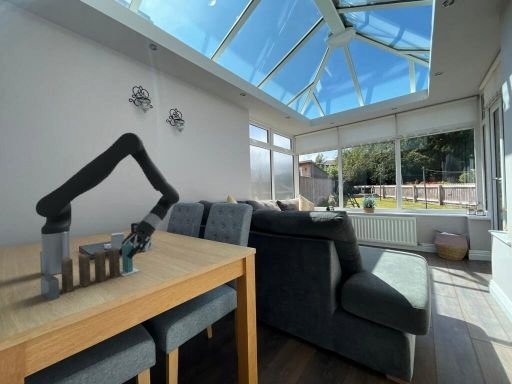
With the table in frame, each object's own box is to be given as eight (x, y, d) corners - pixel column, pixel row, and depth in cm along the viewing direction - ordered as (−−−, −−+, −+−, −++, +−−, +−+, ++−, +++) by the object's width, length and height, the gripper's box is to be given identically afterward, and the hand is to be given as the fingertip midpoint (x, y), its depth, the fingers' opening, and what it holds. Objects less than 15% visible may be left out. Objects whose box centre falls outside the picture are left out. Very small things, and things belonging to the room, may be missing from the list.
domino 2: (84, 287, 79) (83, 256, 79) (79, 284, 82) (78, 254, 82) (90, 285, 81) (89, 255, 80) (85, 282, 83) (84, 253, 83)
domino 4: (115, 277, 87) (114, 250, 87) (109, 275, 90) (108, 248, 90) (120, 276, 89) (119, 249, 89) (114, 273, 92) (113, 247, 92)
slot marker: (123, 276, 88) (123, 275, 88) (114, 272, 93) (114, 272, 93) (140, 270, 94) (140, 270, 94) (131, 267, 99) (131, 267, 99)
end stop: (49, 300, 70) (48, 281, 70) (41, 294, 75) (40, 276, 75) (59, 297, 72) (58, 279, 72) (51, 291, 77) (50, 274, 77)
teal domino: (128, 272, 92) (127, 246, 92) (122, 270, 94) (121, 244, 94) (132, 271, 93) (131, 245, 93) (127, 269, 96) (126, 244, 96)
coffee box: (131, 251, 127) (130, 223, 127) (138, 248, 134) (137, 221, 133) (145, 251, 126) (144, 223, 126) (152, 248, 132) (151, 221, 132)
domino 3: (100, 282, 83) (99, 253, 83) (95, 279, 86) (94, 251, 86) (106, 280, 85) (105, 252, 85) (100, 278, 88) (99, 250, 87)
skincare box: (111, 258, 114) (110, 235, 114) (111, 256, 118) (110, 233, 118) (125, 256, 118) (124, 233, 118) (124, 254, 122) (123, 232, 122)
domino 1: (67, 293, 75) (65, 260, 75) (62, 289, 78) (60, 258, 78) (73, 291, 76) (72, 259, 76) (68, 287, 79) (67, 257, 79)
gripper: (134, 219, 104) (108, 249, 94) (151, 220, 96) (125, 253, 86) (146, 228, 108) (122, 258, 99) (163, 230, 100) (139, 263, 91)
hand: (123, 256), depth 92 cm, fingers open, 8 cm apart
